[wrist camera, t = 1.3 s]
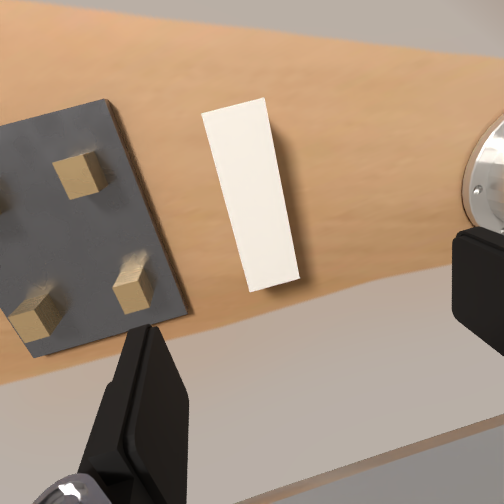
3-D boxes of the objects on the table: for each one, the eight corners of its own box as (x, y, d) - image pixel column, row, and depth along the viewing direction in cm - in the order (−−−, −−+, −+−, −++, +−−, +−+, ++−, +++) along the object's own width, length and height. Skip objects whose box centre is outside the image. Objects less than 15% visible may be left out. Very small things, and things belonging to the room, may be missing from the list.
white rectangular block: (252, 101, 25) (264, 97, 20) (284, 253, 30) (299, 278, 25) (201, 114, 25) (201, 113, 20) (242, 265, 30) (249, 292, 25)
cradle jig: (107, 99, 23) (92, 96, 20) (187, 307, 30) (186, 330, 27) (-90, 151, 23) (-138, 156, 20) (38, 350, 30) (19, 378, 27)
